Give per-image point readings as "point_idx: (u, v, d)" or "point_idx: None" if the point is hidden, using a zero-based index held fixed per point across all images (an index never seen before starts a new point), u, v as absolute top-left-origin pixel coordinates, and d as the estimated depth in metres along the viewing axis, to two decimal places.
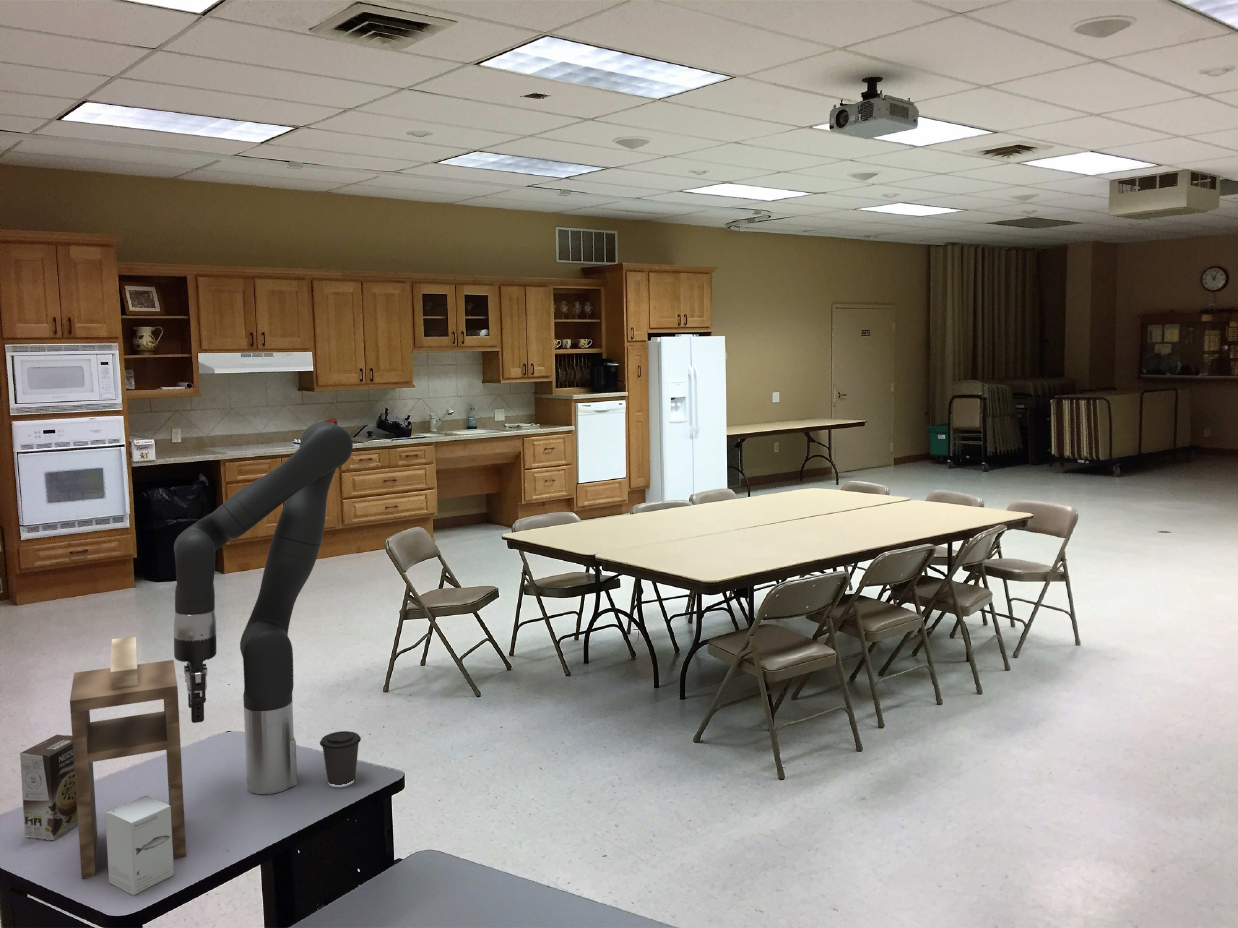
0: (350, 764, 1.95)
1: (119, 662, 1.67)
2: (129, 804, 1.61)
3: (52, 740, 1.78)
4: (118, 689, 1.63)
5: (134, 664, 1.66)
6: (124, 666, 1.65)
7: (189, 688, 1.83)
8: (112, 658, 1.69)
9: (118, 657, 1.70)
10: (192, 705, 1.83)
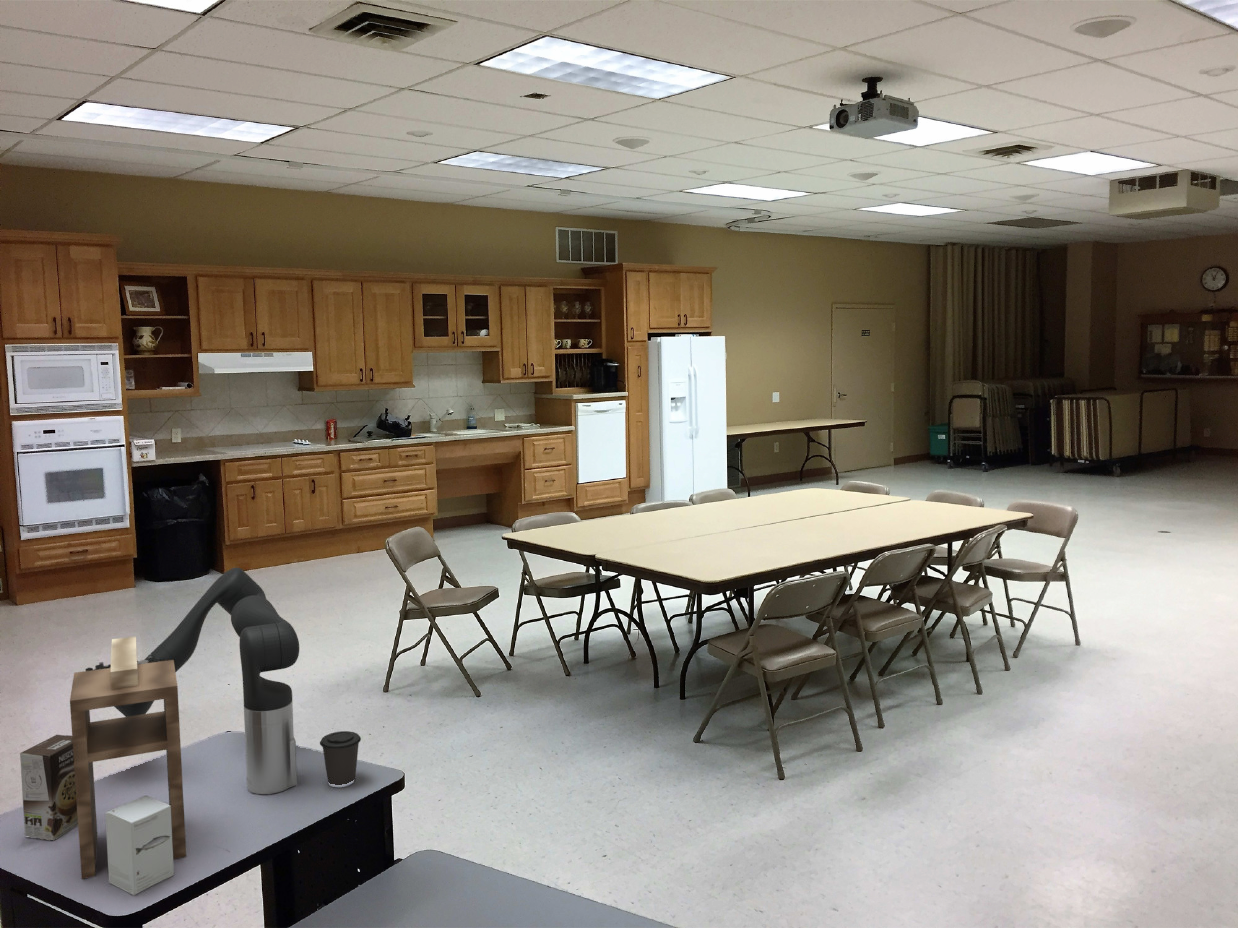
0: (350, 764, 1.95)
1: (119, 662, 1.67)
2: (129, 804, 1.61)
3: (52, 740, 1.78)
4: (118, 689, 1.63)
5: (134, 664, 1.66)
6: (124, 666, 1.65)
7: None
8: (112, 658, 1.69)
9: (118, 657, 1.70)
10: None
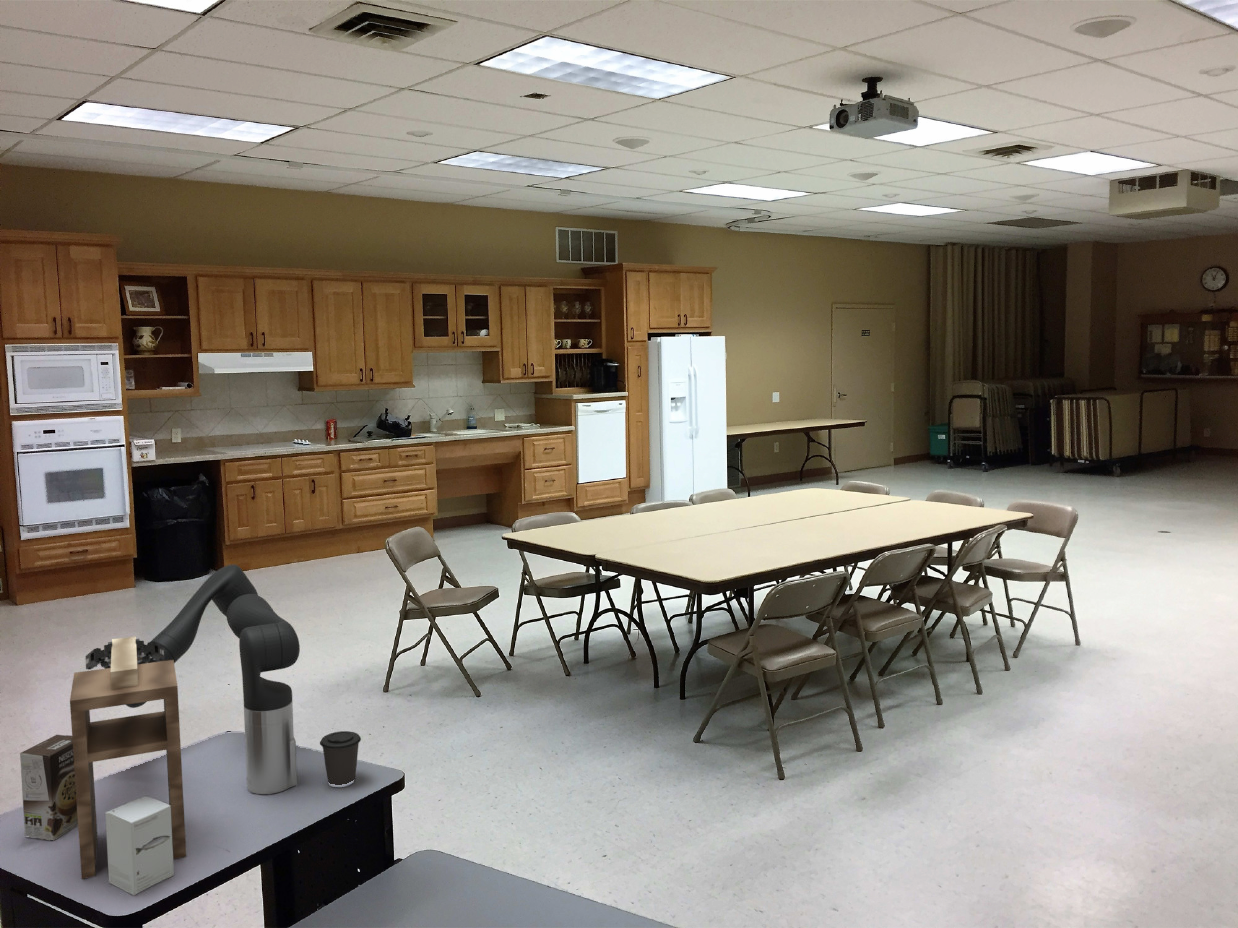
0: (350, 764, 1.95)
1: (119, 662, 1.67)
2: (129, 804, 1.61)
3: (52, 740, 1.78)
4: (118, 689, 1.63)
5: (134, 664, 1.66)
6: (124, 666, 1.65)
7: None
8: (112, 658, 1.69)
9: (118, 657, 1.70)
10: None
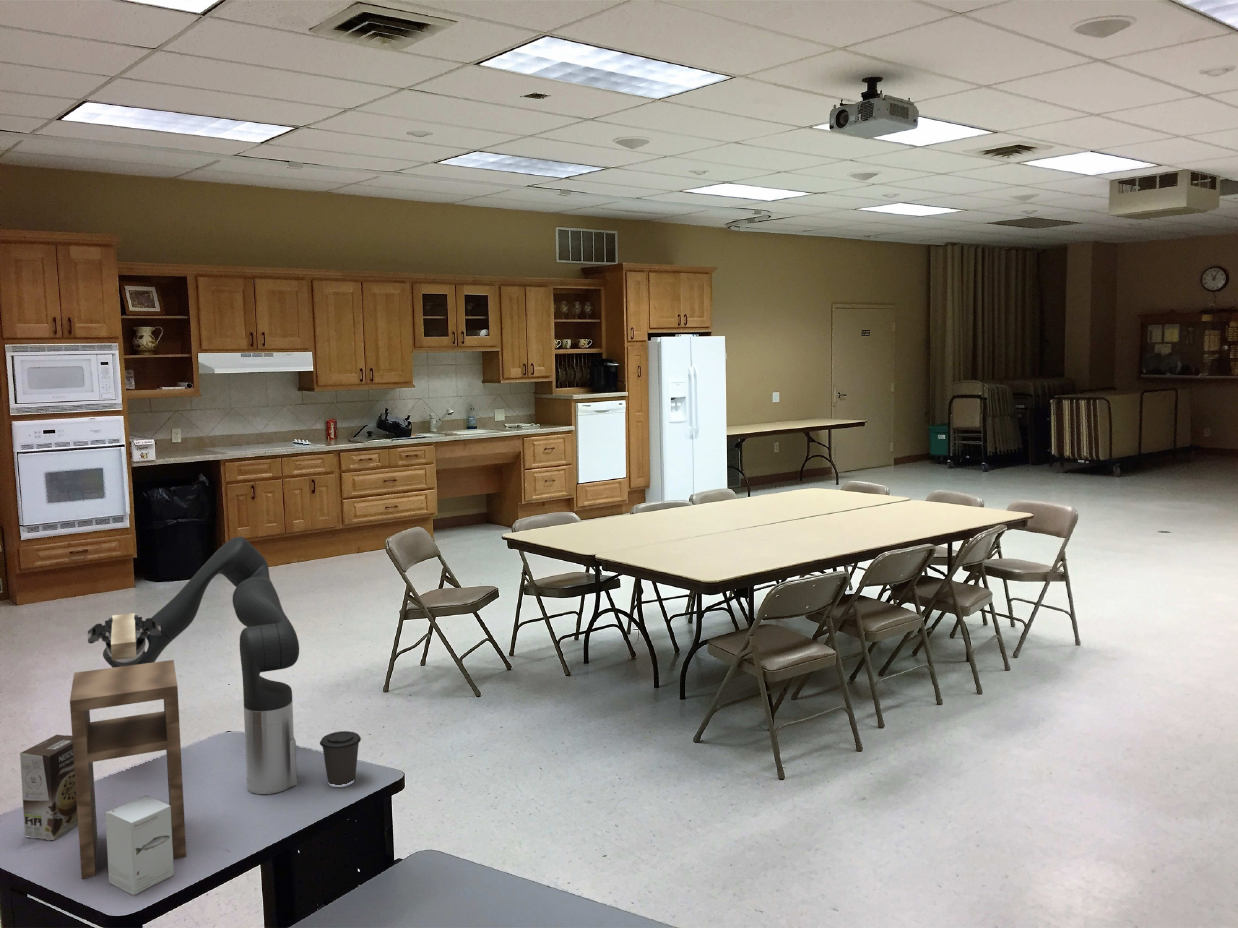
0: (350, 764, 1.95)
1: (119, 636, 1.80)
2: (129, 804, 1.61)
3: (52, 740, 1.78)
4: (118, 689, 1.63)
5: (133, 637, 1.80)
6: (124, 639, 1.78)
7: None
8: (112, 632, 1.83)
9: (118, 631, 1.83)
10: None
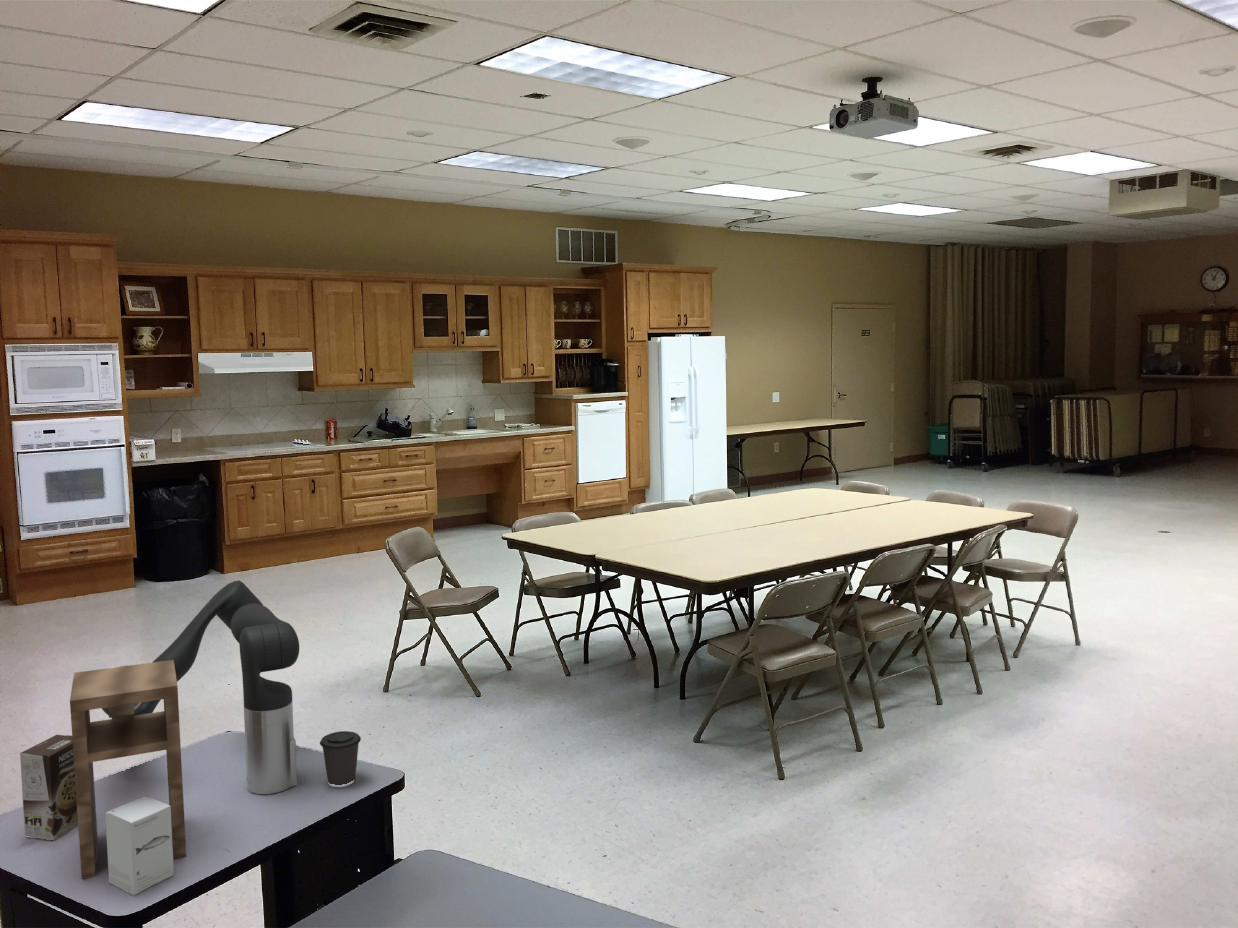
0: (350, 764, 1.95)
1: None
2: (129, 804, 1.61)
3: (52, 740, 1.78)
4: (118, 689, 1.63)
5: None
6: None
7: None
8: None
9: None
10: None
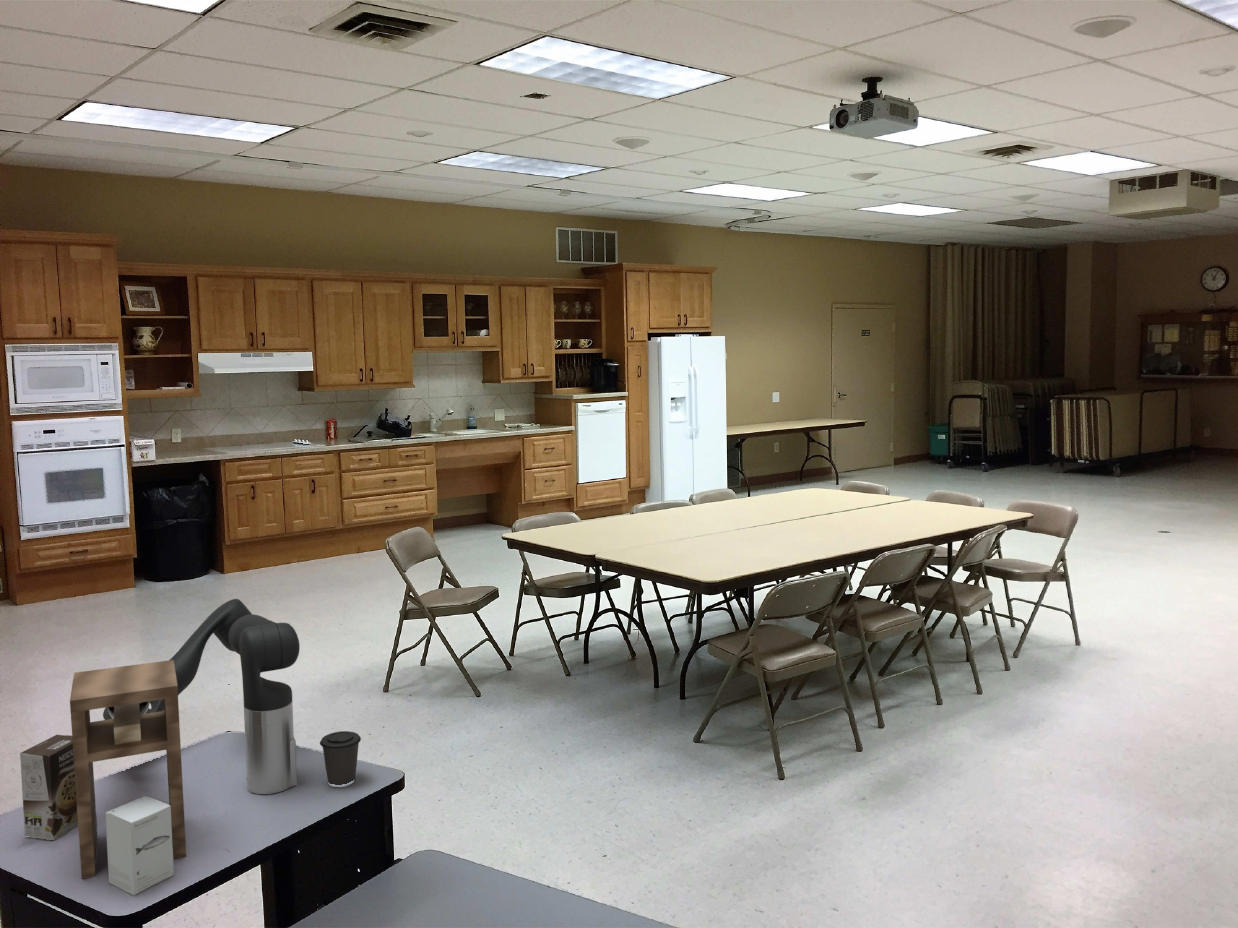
0: (350, 764, 1.95)
1: (122, 717, 1.67)
2: (129, 804, 1.61)
3: (52, 740, 1.78)
4: (118, 689, 1.63)
5: (137, 718, 1.67)
6: (127, 721, 1.65)
7: None
8: (115, 712, 1.70)
9: (121, 711, 1.70)
10: None
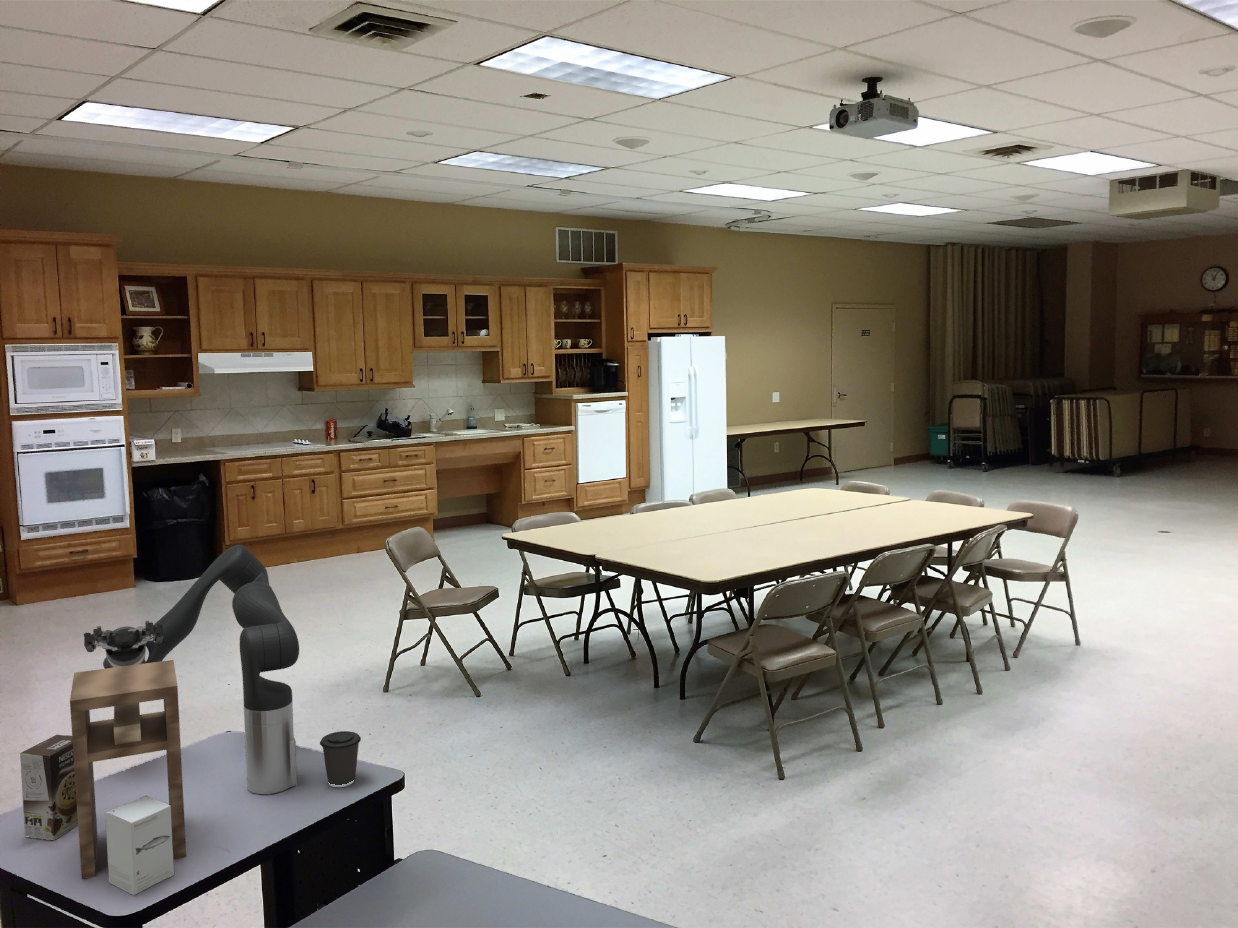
0: (350, 764, 1.95)
1: (122, 717, 1.67)
2: (129, 804, 1.61)
3: (52, 740, 1.78)
4: (118, 689, 1.63)
5: (137, 718, 1.67)
6: (127, 721, 1.65)
7: None
8: (115, 712, 1.70)
9: (121, 711, 1.70)
10: None
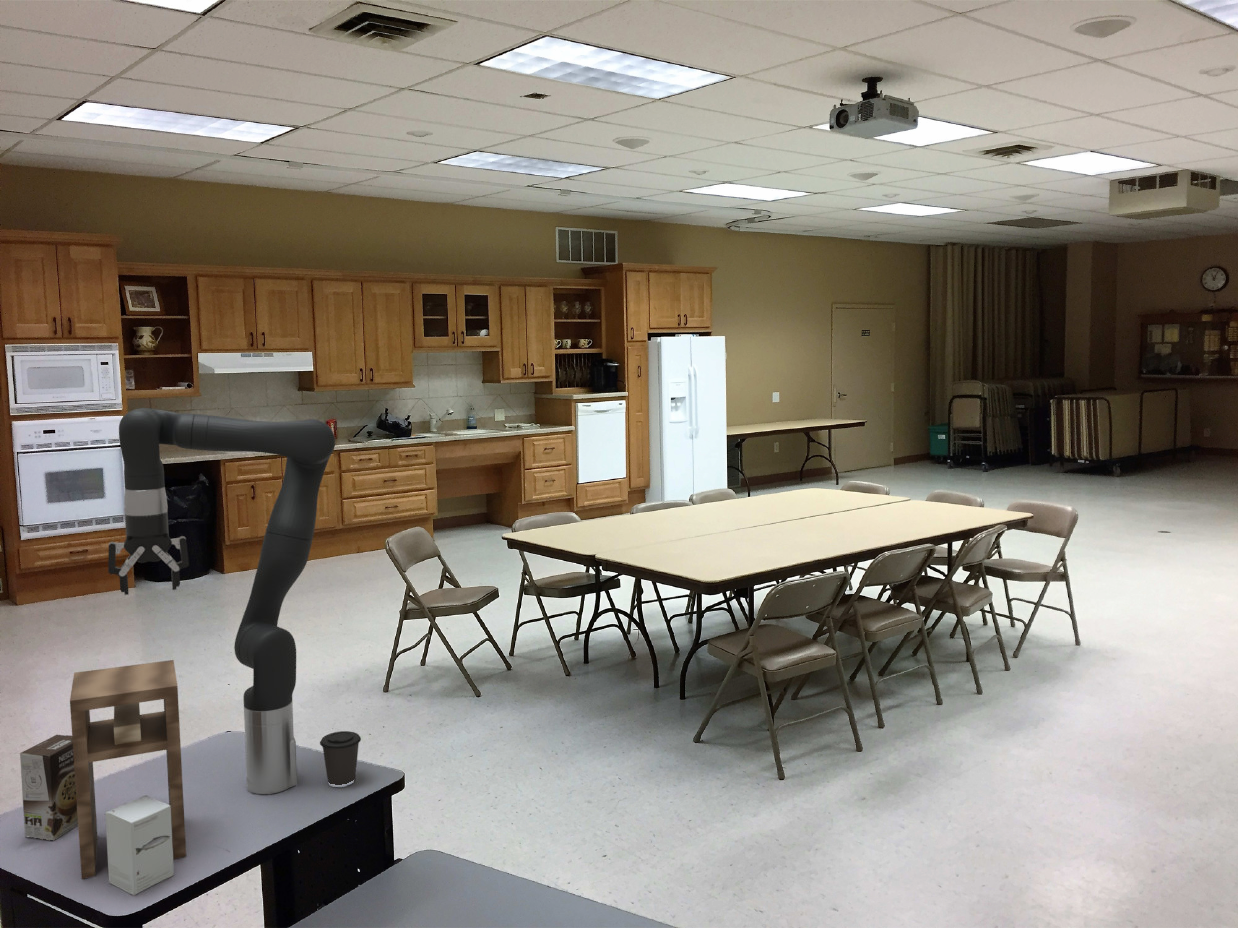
0: (350, 764, 1.95)
1: (122, 717, 1.67)
2: (129, 804, 1.61)
3: (52, 740, 1.78)
4: (118, 689, 1.63)
5: (137, 718, 1.67)
6: (127, 721, 1.65)
7: (170, 558, 1.90)
8: (115, 712, 1.70)
9: (121, 711, 1.70)
10: (175, 572, 1.92)
